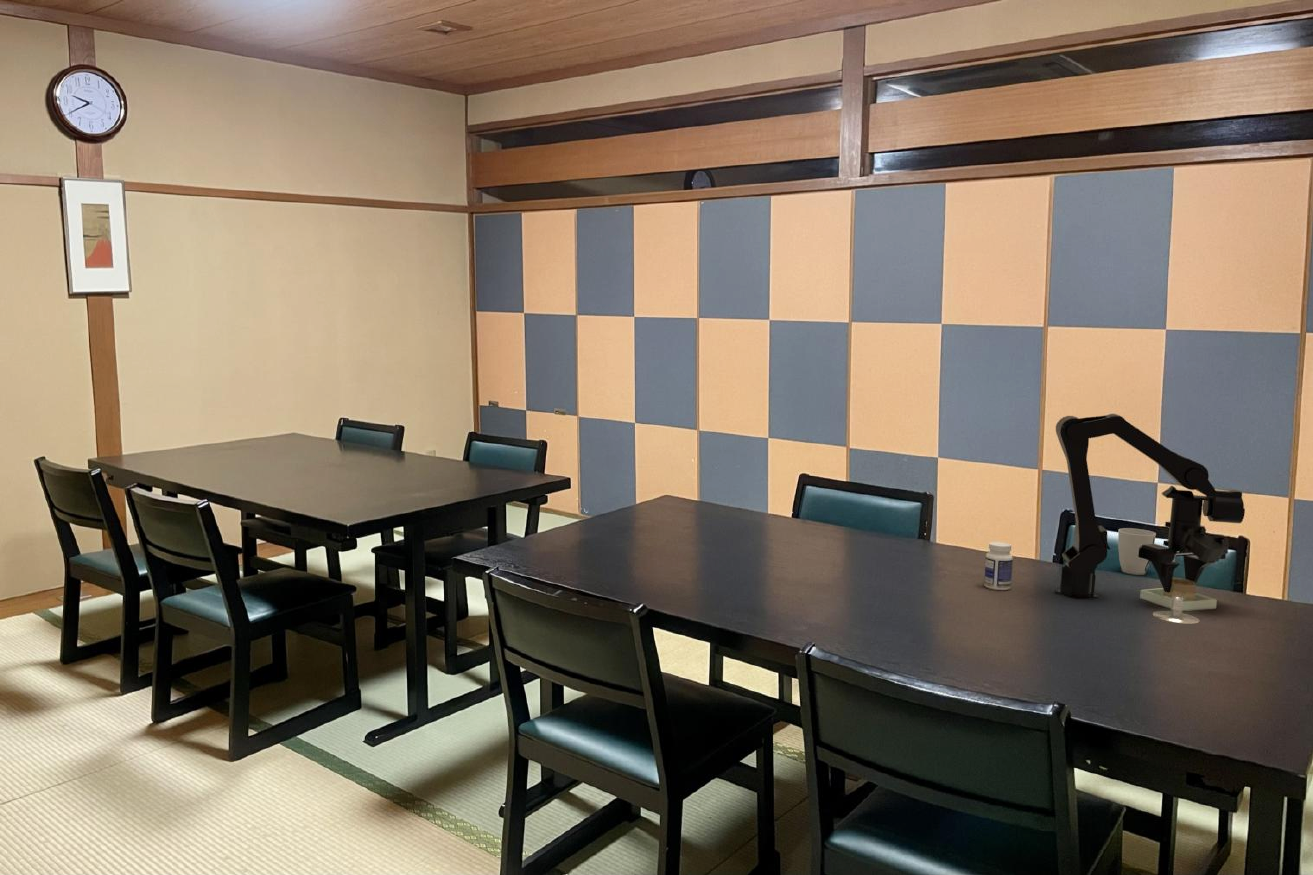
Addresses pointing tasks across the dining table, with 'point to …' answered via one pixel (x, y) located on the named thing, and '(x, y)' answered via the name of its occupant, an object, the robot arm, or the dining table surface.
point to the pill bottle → (998, 566)
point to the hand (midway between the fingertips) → (1178, 591)
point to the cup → (1133, 549)
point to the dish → (1188, 605)
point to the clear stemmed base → (1176, 613)
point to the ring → (1182, 589)
